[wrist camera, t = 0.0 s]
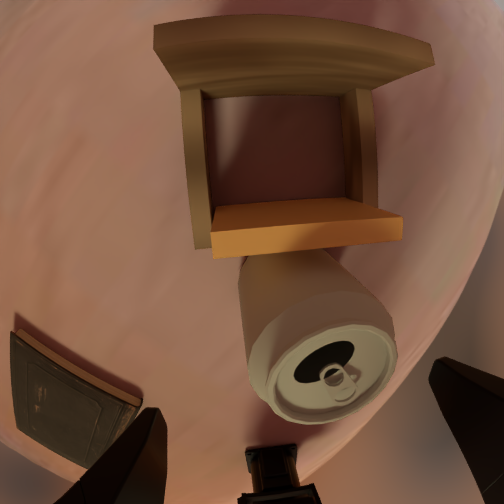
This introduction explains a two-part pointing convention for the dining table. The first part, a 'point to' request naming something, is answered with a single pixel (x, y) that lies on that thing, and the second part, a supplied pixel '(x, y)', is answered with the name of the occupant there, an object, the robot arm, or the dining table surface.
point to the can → (313, 336)
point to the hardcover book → (65, 403)
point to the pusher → (299, 226)
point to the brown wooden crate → (283, 83)
